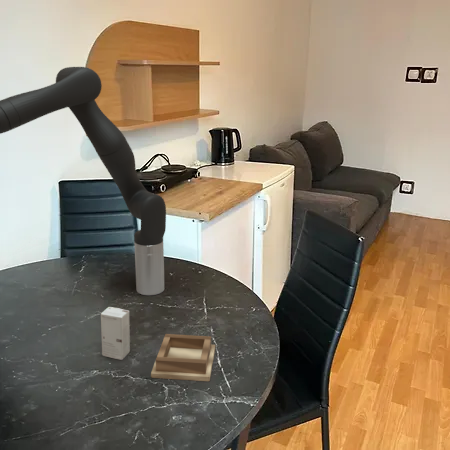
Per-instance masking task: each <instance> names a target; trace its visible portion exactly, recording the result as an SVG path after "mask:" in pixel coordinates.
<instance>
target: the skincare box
mask: <svg viewBox="0 0 450 450" xmlns="http://www.w3.org/2000/svg"><path fill="white" fill-rule="evenodd" d="M130 330H131V329H130V310H128V309H122V308H119V307H112V306H108V307H107V308H106V309H104V310H103V311H102V312H101V313H100V331H101V354H102V356H103V357H108V358H110V359H111V358H112V359H115V360H121V361H122V360H124V359H125V357H127V355H129V353H130V352H131V347H130V346H131V344H130V343H131V340H130V339H131V337H130V335H131V334H130Z"/></svg>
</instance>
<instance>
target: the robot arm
mask: <svg viewBox="0 0 450 450" xmlns="http://www.w3.org/2000/svg"><path fill="white" fill-rule="evenodd" d="M102 85H103V83H102V80H101V78H100V76H99V74H98V73H97V72H96V71H95V70H93V69H92V68H89V67H85V66H69V67H64V68H61V69H60V70H59V71H58V73H57V74H56V77H55V83H52V84H50V85H47V86H44V87H41V88H37V89H34V90H29V91H25V92H22V93H19V94H16V95H12V96H9V97H6V98H4V99H0V135H2V134H5V133H7V132H9V131H12V130H14V129H16V128H19V127H21V126H24V125H25V124H28V123H30V122H32V121H35V120H37V119H40V118H42V117H44V116H47V115H49V114H52V113H54V112H57V111H59V110H63V109H67V108H68V109H69V110H70V111H71V113H72V114H73V115H74V117H75V118H76V119H77V120H78V121H77V122H78V123H79V124H80V126H81V128H82V129H83V131H84V132H85V135H86V137H87V138H88V140H89V141H90V143H91V145H92V146H93V148H94V150H95V151H96V154H97V156H98V157H99V159H100V161H101V162H102V164H103V166H104V167H105V168H106V170H107V172H108V173H109V175H110V177H111V178H112V181H114V183H115V184H116V186H117V188H118V190H119V192H120V193H121V196H122V198H123V200H124V202H125V205H126V207H127V209H128V211H129V212H130V214H131V215H132V216H133V217H134V218H136V219H138V220H140V229H139V230H137V231H136V232H134V235H133V240H134V241H133V242H134V262H135V285H136V292H137V293H138V294H139V295H140V294H141V295H143V296H155V295H159V294H162V293H163V292H164V290H165V262H164V261H165V257H164V252H165V251H164V236H165V234H166V224H167V206H166V202H165V199H164V198H163V197H162V196H161V195H158V194H156V193H154V192H151V191H148V190H147V188H145V186H144V185H143V183H142V182H141V180H140V178H139V176H138V174H137V169H136V160H135V159H136V158H135V155H134V152H133V149H132V147H131V145H130V144H129V142H128V140H127V139H126V137H125V135H124V134H123V132H122V131H121V129H119V127H117V125H116V124H115V123H114V122H112V120H110V119H109V118H108V117H107V115H106V114H105V113H104V112H103V111H102V110H101V108H100V106H99V104H97V102H96V99H98V97H99V96H100V94H101V91H102V88H103V86H102Z"/></svg>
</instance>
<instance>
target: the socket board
mask: <svg viewBox="0 0 450 450" xmlns="http://www.w3.org/2000/svg"><path fill="white" fill-rule="evenodd" d="M162 340H163V341H162V342H161V345H160V348H159V351H158V353H157V356H156V358H155V361H154V364H153V367H152V369H151V373H150V378H151V379H152V378H153V379H164V380H165V379H166V380H167V379H168V380H182V381H183V380H184V381H196V382H210V380H211V375H212V369H213V362H214V357H215V353H216V344H212V336H209V335H206V336H205V335H190V334H176V333H175V334H173V333H165V335H164V336H163V339H162Z"/></svg>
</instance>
